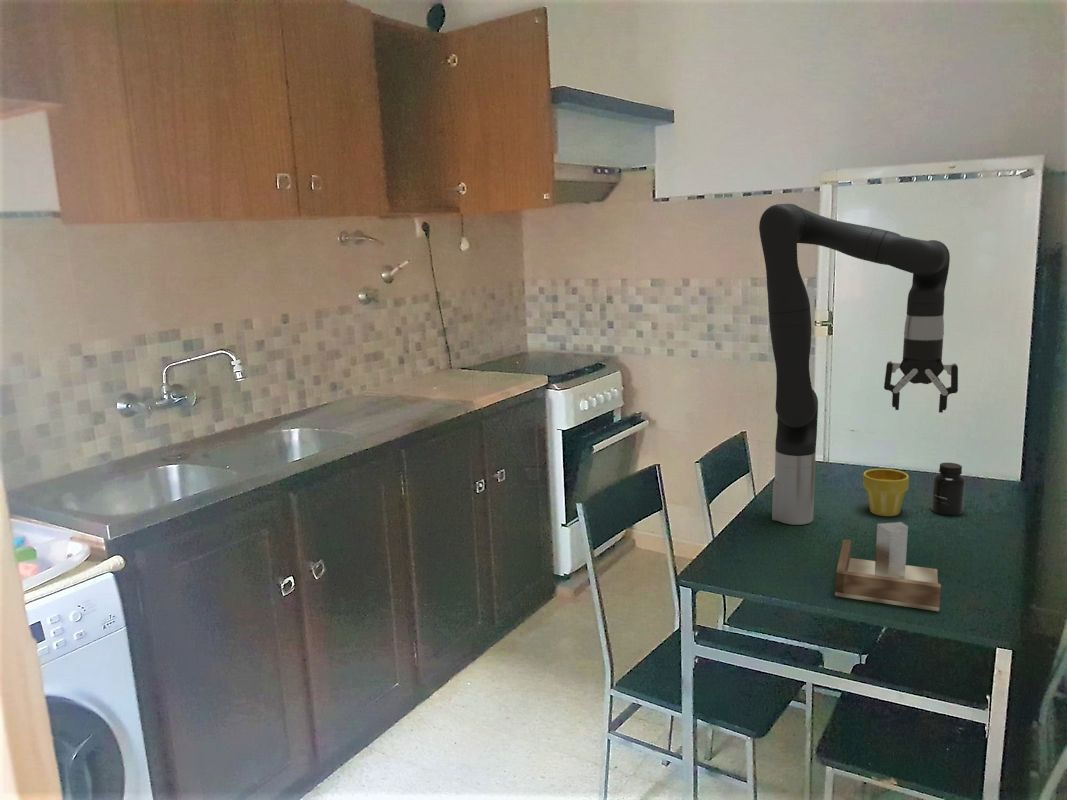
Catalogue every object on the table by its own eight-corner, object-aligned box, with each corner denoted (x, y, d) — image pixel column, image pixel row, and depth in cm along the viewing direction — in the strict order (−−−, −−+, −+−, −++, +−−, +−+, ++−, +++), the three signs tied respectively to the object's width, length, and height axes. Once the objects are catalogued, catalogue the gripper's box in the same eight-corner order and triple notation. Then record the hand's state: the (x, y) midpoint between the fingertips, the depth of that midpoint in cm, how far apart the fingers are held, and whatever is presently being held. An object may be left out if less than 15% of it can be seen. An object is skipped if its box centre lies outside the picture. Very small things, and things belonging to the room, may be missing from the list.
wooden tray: (834, 595, 154) (836, 572, 153) (842, 560, 170) (843, 539, 169) (939, 611, 146) (940, 587, 145) (936, 572, 162) (938, 550, 161)
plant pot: (852, 509, 200) (853, 471, 198) (883, 502, 204) (885, 465, 202) (884, 522, 190) (886, 483, 188) (916, 515, 194) (919, 476, 192)
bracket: (874, 575, 160) (877, 523, 158) (898, 573, 161) (901, 522, 159) (887, 586, 156) (890, 533, 153) (912, 584, 156) (915, 531, 154)
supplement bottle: (932, 515, 194) (935, 467, 191) (930, 506, 200) (933, 460, 197) (964, 518, 191) (968, 470, 189) (961, 508, 197) (964, 462, 195)
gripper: (886, 337, 169) (882, 412, 172) (962, 339, 163) (956, 416, 166) (887, 333, 175) (883, 405, 179) (960, 334, 169) (955, 409, 173)
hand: (918, 410), depth 172 cm, fingers open, 8 cm apart
